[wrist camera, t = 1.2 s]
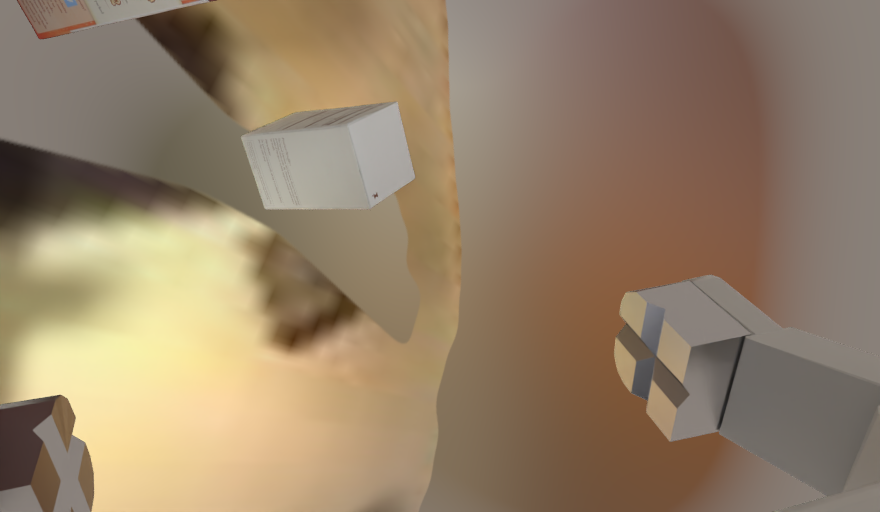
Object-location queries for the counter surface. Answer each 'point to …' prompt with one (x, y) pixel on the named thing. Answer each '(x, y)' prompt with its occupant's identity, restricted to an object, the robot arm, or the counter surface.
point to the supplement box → (330, 158)
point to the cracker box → (91, 13)
